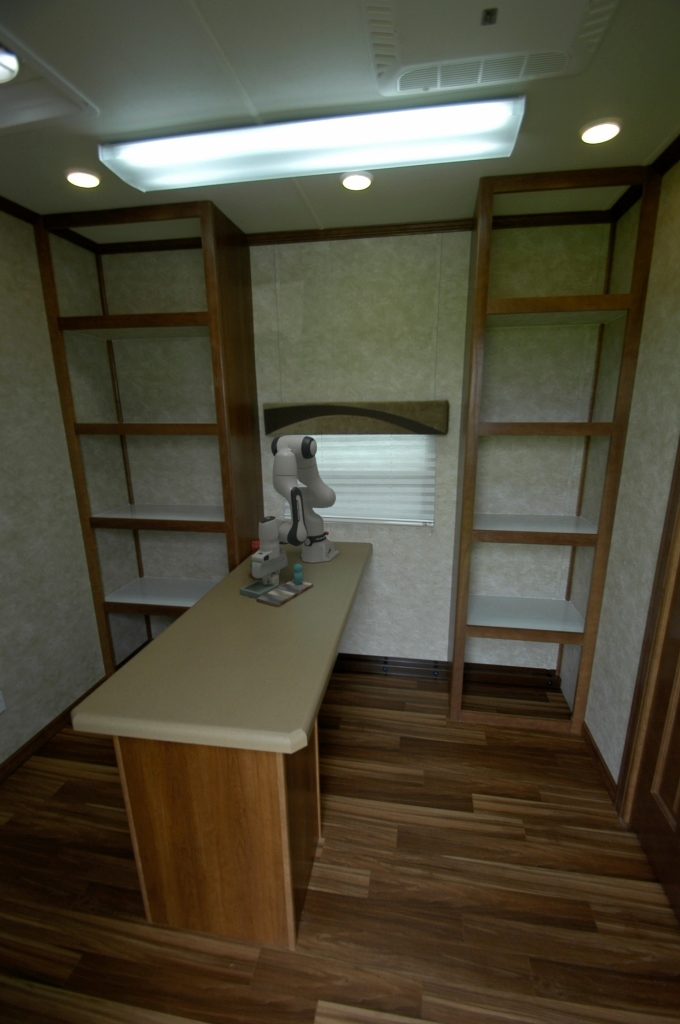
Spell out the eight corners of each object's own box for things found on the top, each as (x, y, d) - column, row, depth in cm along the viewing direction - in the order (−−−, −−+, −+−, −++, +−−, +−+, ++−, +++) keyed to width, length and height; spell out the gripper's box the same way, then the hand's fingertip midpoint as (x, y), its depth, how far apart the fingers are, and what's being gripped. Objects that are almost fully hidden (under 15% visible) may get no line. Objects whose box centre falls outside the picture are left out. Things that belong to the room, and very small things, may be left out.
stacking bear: (274, 571, 213) (272, 537, 209) (269, 579, 203) (266, 543, 199) (253, 571, 214) (250, 537, 210) (247, 579, 204) (244, 543, 200)
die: (272, 582, 199) (271, 573, 198) (279, 584, 197) (278, 575, 196) (265, 586, 196) (264, 576, 195) (272, 587, 193) (272, 578, 192)
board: (292, 581, 199) (292, 578, 199) (313, 586, 193) (313, 583, 192) (256, 601, 180) (256, 598, 179) (278, 607, 173) (277, 604, 173)
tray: (258, 584, 197) (258, 579, 197) (278, 589, 191) (278, 584, 190) (239, 594, 188) (239, 588, 187) (259, 599, 181) (259, 594, 181)
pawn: (297, 581, 196) (296, 561, 194) (305, 582, 194) (304, 562, 192) (291, 584, 193) (290, 564, 190) (299, 586, 190) (298, 565, 188)
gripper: (279, 545, 203) (281, 573, 205) (248, 557, 186) (250, 587, 189) (289, 547, 199) (291, 575, 202) (259, 559, 183) (261, 590, 185)
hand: (271, 581), depth 195 cm, fingers open, 6 cm apart
